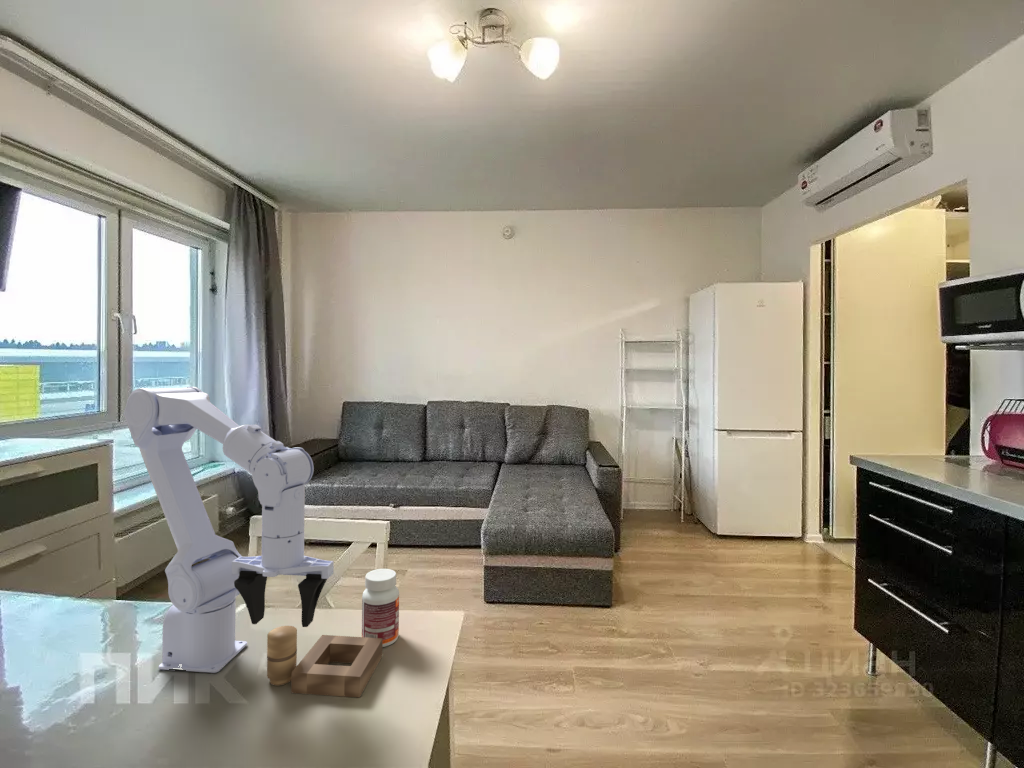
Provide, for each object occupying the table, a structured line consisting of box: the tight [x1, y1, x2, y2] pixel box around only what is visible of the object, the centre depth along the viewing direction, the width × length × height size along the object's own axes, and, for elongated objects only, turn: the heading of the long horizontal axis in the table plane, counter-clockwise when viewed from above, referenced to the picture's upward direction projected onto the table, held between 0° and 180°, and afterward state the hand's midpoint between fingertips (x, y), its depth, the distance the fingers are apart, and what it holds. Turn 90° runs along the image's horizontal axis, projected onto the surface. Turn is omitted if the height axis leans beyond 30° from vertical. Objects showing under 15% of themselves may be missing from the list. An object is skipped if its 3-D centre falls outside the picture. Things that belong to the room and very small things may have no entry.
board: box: [290, 634, 383, 699], centre depth 76 cm, size 10×10×3 cm
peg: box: [266, 625, 298, 687], centre depth 74 cm, size 4×4×7 cm
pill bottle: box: [361, 568, 400, 648], centre depth 85 cm, size 6×6×11 cm
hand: (282, 622), depth 74 cm, fingers open, 7 cm apart
